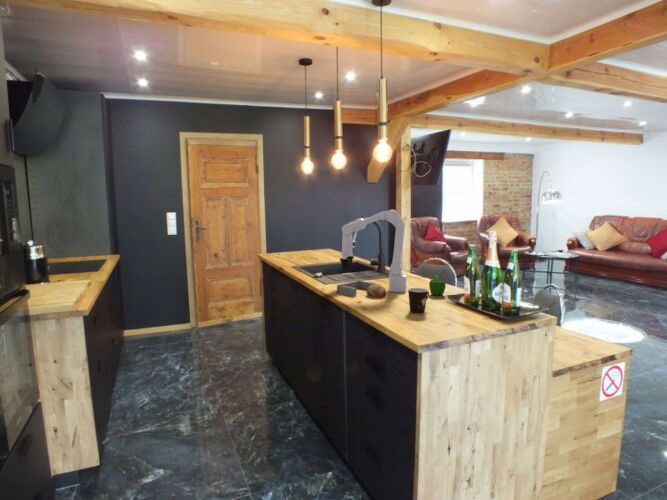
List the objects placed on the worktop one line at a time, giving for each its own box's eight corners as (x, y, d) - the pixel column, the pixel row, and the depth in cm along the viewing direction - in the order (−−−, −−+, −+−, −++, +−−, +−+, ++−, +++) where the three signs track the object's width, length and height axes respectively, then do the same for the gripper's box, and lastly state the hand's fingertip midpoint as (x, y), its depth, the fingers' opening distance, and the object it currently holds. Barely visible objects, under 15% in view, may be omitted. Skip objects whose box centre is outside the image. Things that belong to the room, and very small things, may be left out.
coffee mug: (412, 315, 186) (413, 292, 185) (404, 309, 194) (405, 288, 193) (436, 313, 189) (437, 291, 188) (427, 308, 198) (428, 287, 196)
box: (376, 290, 232) (376, 283, 232) (354, 296, 219) (354, 288, 218) (358, 287, 240) (358, 280, 240) (337, 292, 227) (337, 285, 226)
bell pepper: (445, 297, 219) (446, 278, 218) (429, 296, 221) (429, 277, 220) (444, 293, 227) (445, 275, 226) (428, 292, 229) (429, 274, 228)
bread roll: (364, 302, 223) (360, 289, 219) (376, 291, 229) (372, 278, 225) (379, 305, 216) (375, 292, 212) (391, 294, 222) (387, 281, 218)
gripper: (343, 244, 244) (342, 267, 245) (337, 247, 230) (336, 271, 231) (355, 244, 242) (354, 268, 244) (349, 247, 228) (349, 272, 230)
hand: (346, 270), depth 237 cm, fingers open, 7 cm apart
